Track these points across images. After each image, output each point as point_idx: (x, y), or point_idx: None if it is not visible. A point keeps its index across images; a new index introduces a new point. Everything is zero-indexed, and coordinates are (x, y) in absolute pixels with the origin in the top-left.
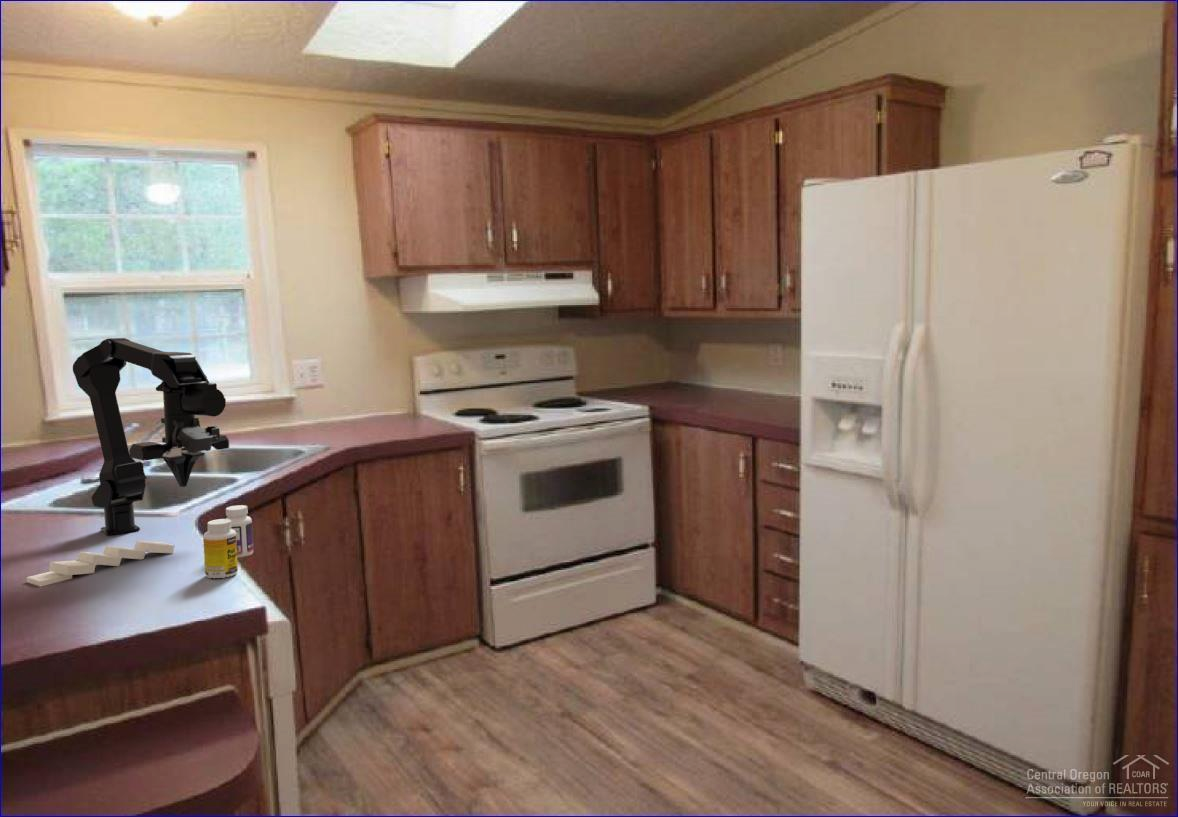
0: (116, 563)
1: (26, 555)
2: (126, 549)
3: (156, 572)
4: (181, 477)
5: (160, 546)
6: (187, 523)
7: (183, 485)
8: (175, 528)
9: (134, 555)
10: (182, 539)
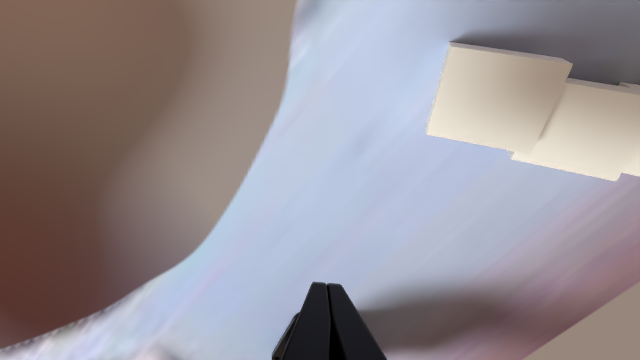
0: (637, 85)
1: (536, 333)
2: (620, 104)
3: None
4: (369, 346)
5: (517, 54)
6: (177, 280)
7: (335, 289)
8: (230, 267)
9: (584, 83)
10: (301, 160)
